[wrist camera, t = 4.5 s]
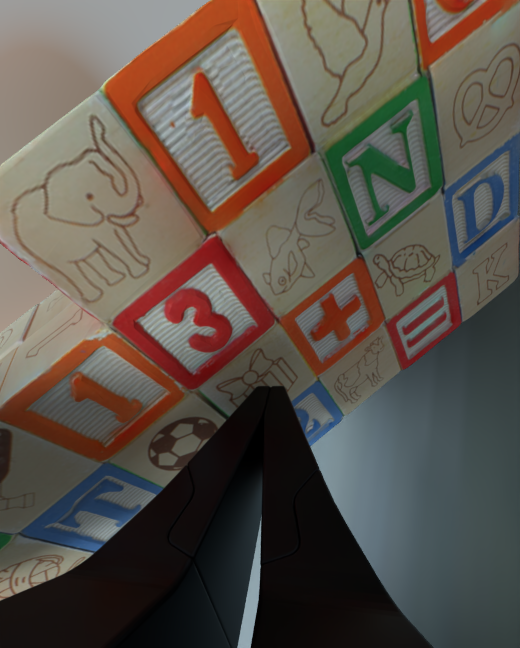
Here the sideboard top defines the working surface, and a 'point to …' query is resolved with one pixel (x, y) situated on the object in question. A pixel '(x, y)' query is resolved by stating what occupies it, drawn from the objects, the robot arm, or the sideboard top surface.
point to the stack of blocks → (245, 243)
